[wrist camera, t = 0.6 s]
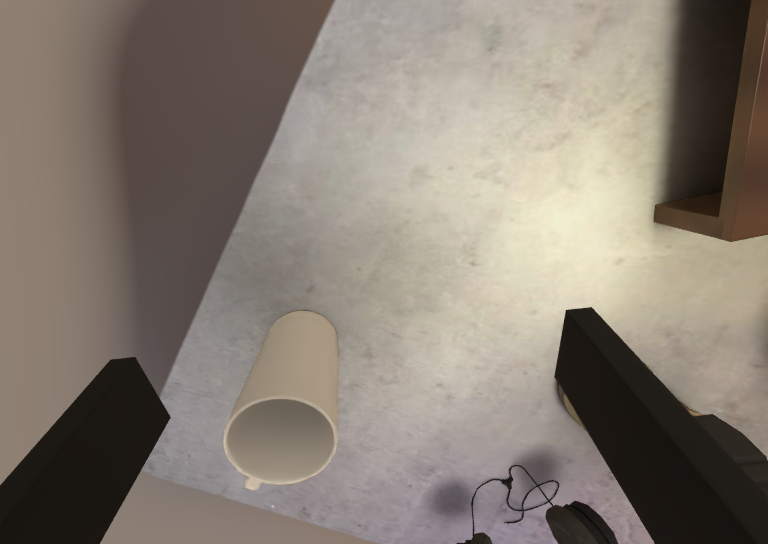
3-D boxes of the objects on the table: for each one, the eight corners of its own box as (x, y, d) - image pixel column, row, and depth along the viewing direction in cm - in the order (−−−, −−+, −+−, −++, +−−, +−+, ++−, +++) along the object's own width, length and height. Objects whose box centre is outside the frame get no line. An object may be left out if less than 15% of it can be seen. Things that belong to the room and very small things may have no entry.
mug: (284, 294, 32) (250, 379, 20) (353, 325, 33) (357, 419, 22) (239, 383, 34) (186, 502, 23) (305, 408, 36) (287, 530, 24)
